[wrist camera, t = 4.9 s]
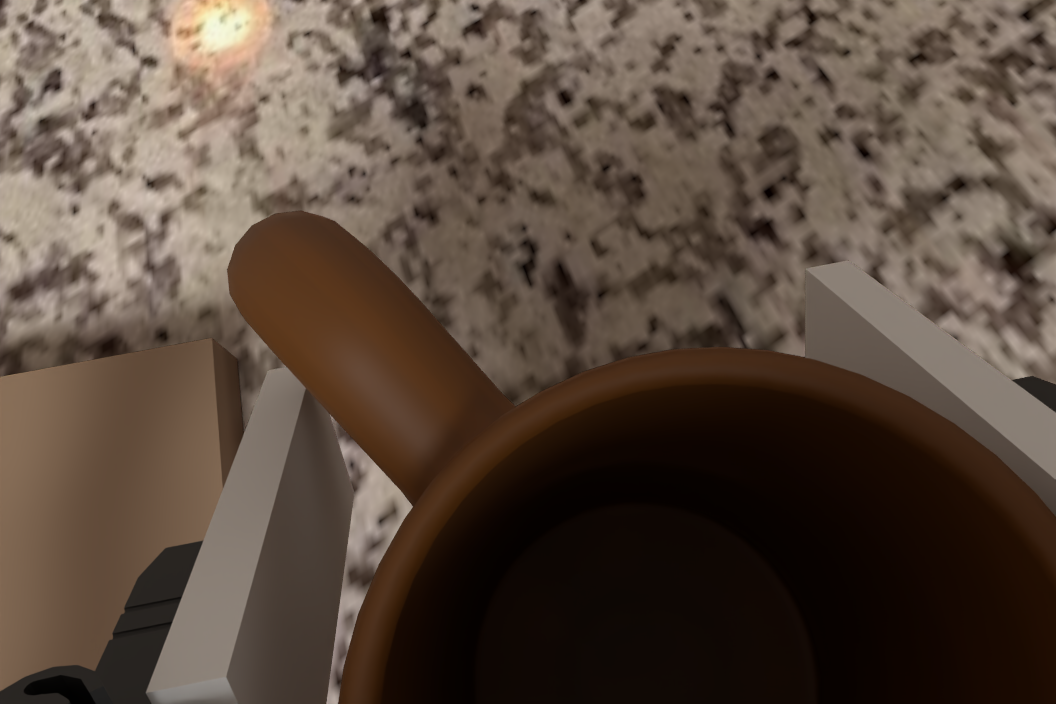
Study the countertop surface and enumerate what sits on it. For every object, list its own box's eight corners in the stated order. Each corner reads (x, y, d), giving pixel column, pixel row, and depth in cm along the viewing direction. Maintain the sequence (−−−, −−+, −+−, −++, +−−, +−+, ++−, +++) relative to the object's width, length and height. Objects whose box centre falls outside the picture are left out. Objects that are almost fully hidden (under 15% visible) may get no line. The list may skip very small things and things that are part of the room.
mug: (239, 506, 17) (-102, 382, 8) (499, 275, 19) (444, -38, 10) (649, 1001, 14) (796, 1632, 5) (921, 681, 16) (1392, 758, 7)
